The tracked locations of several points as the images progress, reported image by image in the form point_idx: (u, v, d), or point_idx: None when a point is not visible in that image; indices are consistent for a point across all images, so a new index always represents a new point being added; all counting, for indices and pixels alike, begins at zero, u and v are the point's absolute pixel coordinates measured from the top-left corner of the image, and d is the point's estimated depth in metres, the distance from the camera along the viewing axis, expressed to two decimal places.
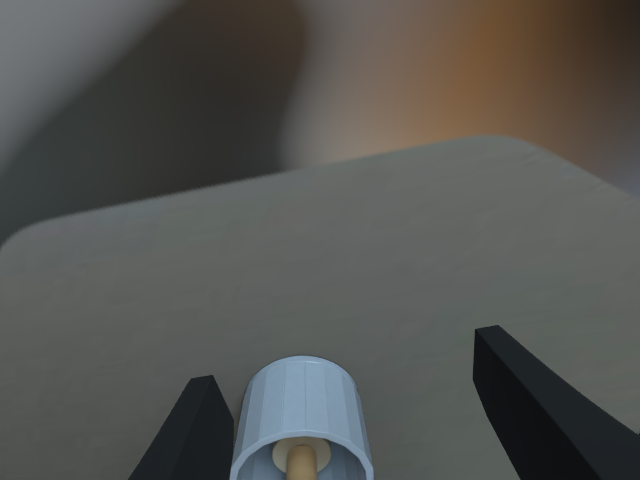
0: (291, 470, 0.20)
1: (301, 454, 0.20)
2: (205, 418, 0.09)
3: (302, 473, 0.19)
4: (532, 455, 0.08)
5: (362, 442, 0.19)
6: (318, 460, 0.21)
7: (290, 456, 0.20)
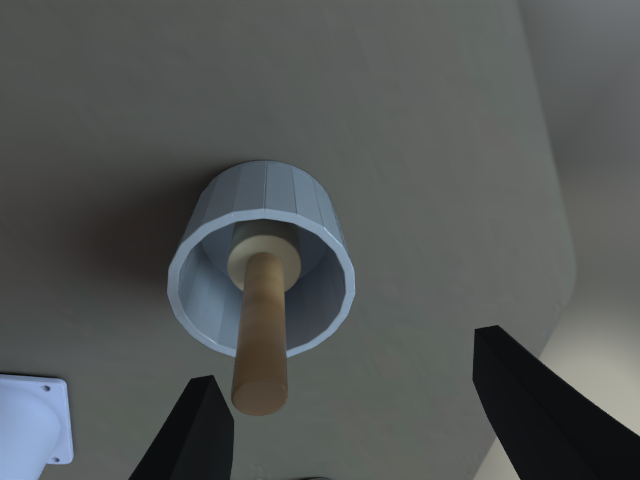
0: (273, 271, 0.15)
1: (282, 270, 0.16)
2: (205, 418, 0.09)
3: (283, 286, 0.15)
4: (532, 455, 0.08)
5: None
6: None
7: (270, 259, 0.16)
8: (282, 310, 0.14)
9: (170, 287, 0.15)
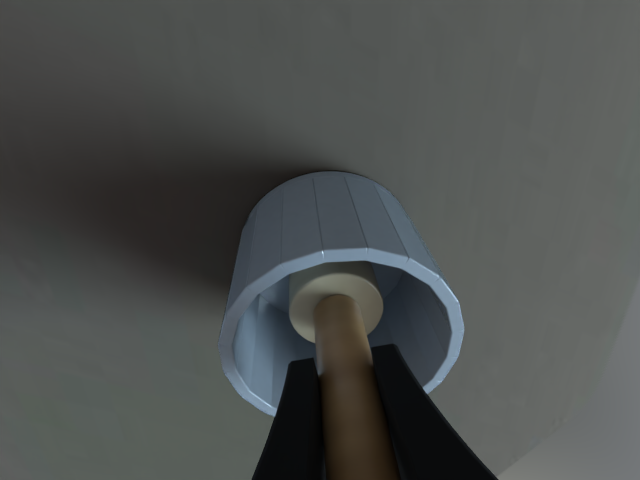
0: (362, 329, 0.12)
1: None
2: (316, 399, 0.09)
3: None
4: (405, 476, 0.08)
5: None
6: None
7: (355, 308, 0.12)
8: None
9: (234, 310, 0.11)
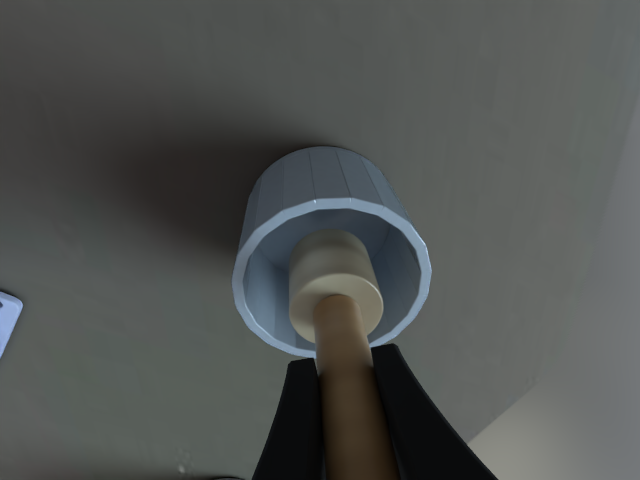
0: (362, 329, 0.12)
1: None
2: (316, 399, 0.09)
3: None
4: (405, 476, 0.08)
5: None
6: None
7: (355, 308, 0.12)
8: None
9: (245, 250, 0.13)
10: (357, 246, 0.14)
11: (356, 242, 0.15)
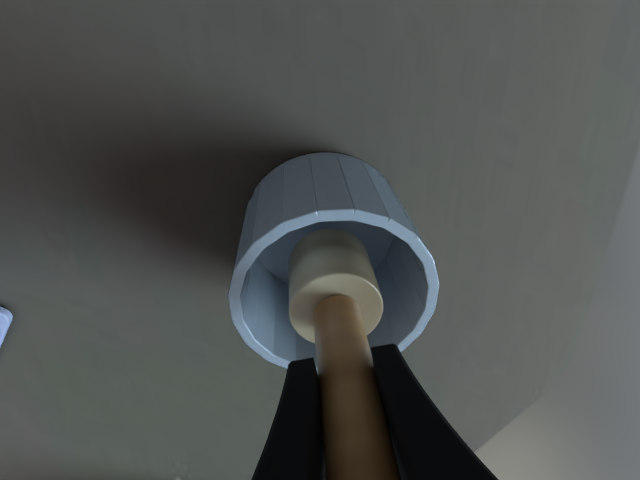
0: (361, 329, 0.12)
1: None
2: (316, 399, 0.09)
3: None
4: (405, 476, 0.08)
5: None
6: None
7: (355, 308, 0.12)
8: None
9: (242, 264, 0.12)
10: (357, 246, 0.14)
11: (356, 242, 0.15)
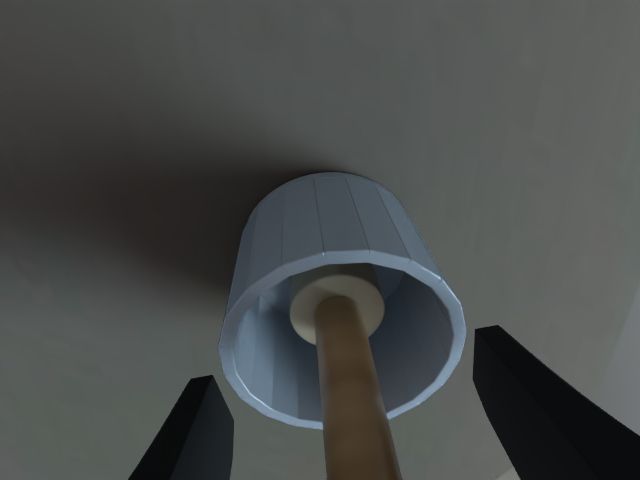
0: (363, 331, 0.12)
1: None
2: (205, 418, 0.09)
3: None
4: (532, 455, 0.08)
5: None
6: None
7: (356, 310, 0.12)
8: None
9: (234, 312, 0.10)
10: None
11: None
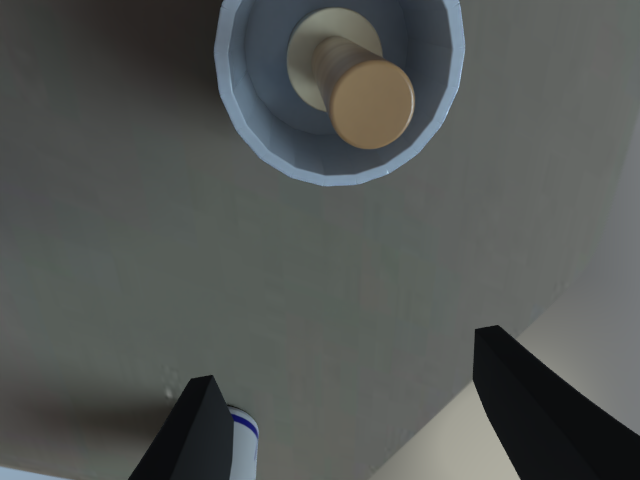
0: None
1: None
2: (205, 418, 0.09)
3: None
4: (532, 455, 0.08)
5: None
6: None
7: None
8: None
9: None
10: None
11: None
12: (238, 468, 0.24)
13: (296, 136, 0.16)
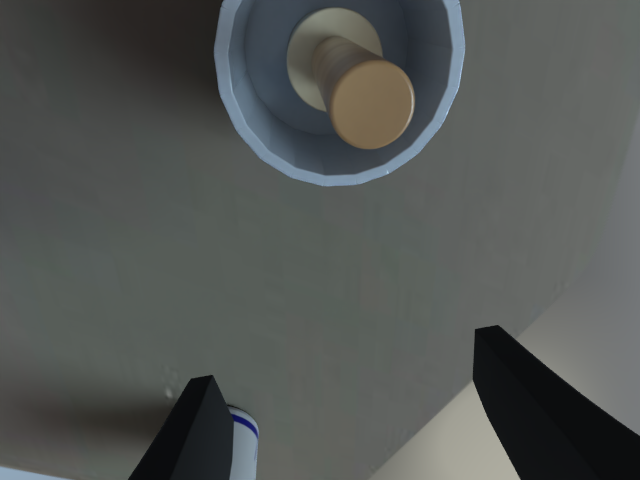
0: None
1: None
2: (205, 418, 0.09)
3: None
4: (532, 455, 0.08)
5: None
6: None
7: None
8: None
9: None
10: None
11: None
12: (238, 468, 0.24)
13: (296, 136, 0.16)
